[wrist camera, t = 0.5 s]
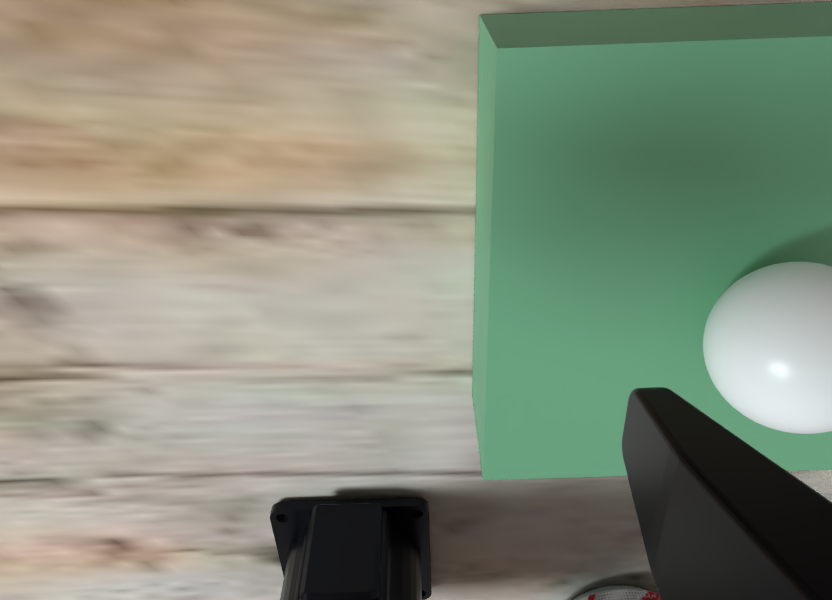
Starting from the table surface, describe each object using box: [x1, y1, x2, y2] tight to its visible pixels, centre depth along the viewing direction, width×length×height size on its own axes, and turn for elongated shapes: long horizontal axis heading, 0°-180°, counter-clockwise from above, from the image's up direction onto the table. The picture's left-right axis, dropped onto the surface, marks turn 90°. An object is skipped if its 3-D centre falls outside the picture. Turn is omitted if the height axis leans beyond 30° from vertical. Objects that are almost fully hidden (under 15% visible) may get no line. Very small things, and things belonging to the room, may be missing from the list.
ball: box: [703, 262, 832, 434], centre depth 15 cm, size 4×4×4 cm
